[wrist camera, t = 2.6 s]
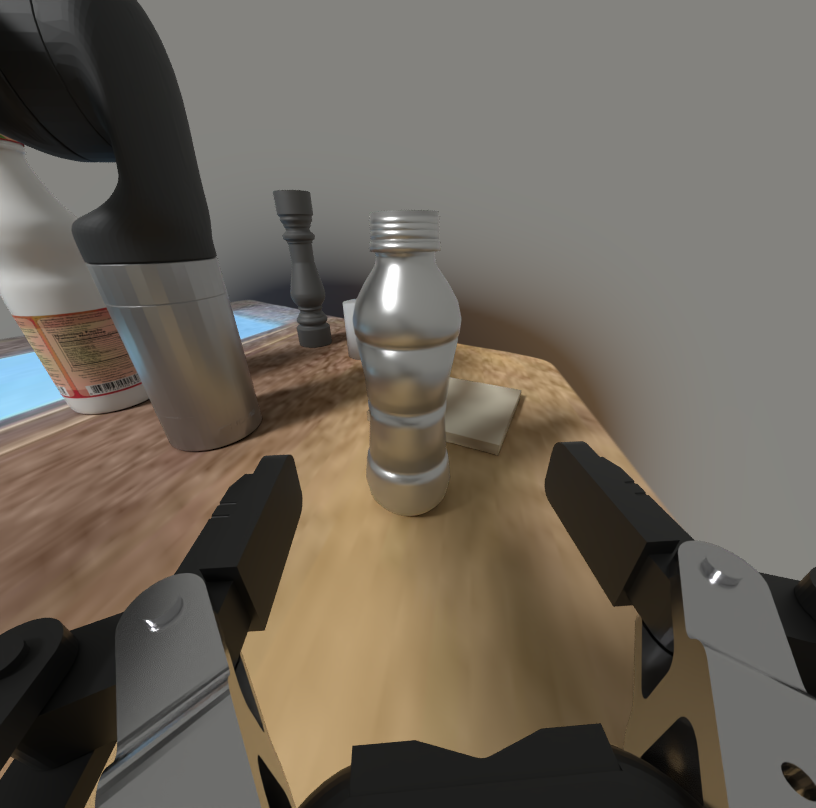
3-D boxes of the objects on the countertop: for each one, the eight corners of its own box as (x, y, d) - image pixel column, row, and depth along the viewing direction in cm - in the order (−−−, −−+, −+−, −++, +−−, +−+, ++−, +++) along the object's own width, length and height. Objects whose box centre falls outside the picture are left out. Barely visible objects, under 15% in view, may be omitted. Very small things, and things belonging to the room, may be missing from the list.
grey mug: (340, 356, 55) (334, 304, 51) (362, 345, 60) (358, 297, 56) (380, 363, 52) (377, 308, 47) (400, 351, 57) (398, 300, 53)
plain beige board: (367, 420, 36) (366, 411, 36) (415, 378, 46) (415, 371, 46) (498, 455, 30) (499, 445, 30) (519, 398, 40) (521, 390, 40)
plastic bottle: (407, 459, 30) (403, 216, 20) (465, 496, 26) (494, 211, 16) (352, 494, 26) (314, 214, 16) (409, 545, 22) (403, 205, 12)
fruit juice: (50, 416, 38) (-153, 112, 24) (116, 383, 46) (-8, 142, 33) (123, 417, 38) (-42, 107, 24) (177, 383, 46) (77, 139, 32)
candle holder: (299, 349, 59) (269, 189, 47) (299, 339, 64) (272, 193, 52) (333, 345, 60) (312, 190, 48) (330, 336, 66) (311, 194, 53)
